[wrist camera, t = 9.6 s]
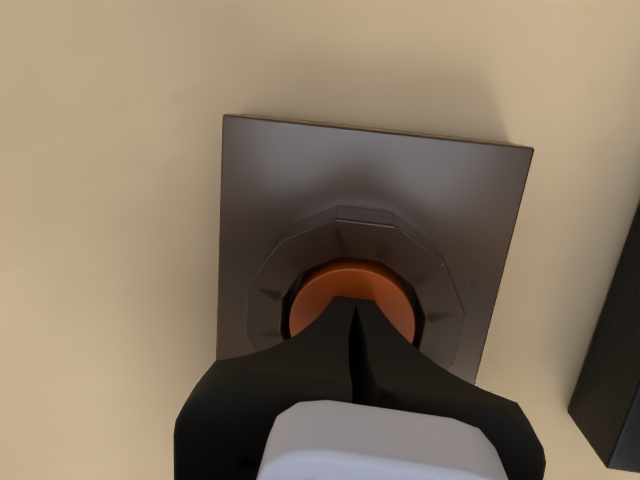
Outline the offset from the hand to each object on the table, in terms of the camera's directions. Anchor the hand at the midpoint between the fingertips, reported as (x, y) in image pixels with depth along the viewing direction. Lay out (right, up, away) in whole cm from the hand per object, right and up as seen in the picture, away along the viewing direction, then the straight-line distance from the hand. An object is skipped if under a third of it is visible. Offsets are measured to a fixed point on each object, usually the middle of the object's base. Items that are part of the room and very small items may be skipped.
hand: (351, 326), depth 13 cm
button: (0, 0, +2) cm, 2 cm away
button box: (0, +1, +4) cm, 4 cm away
